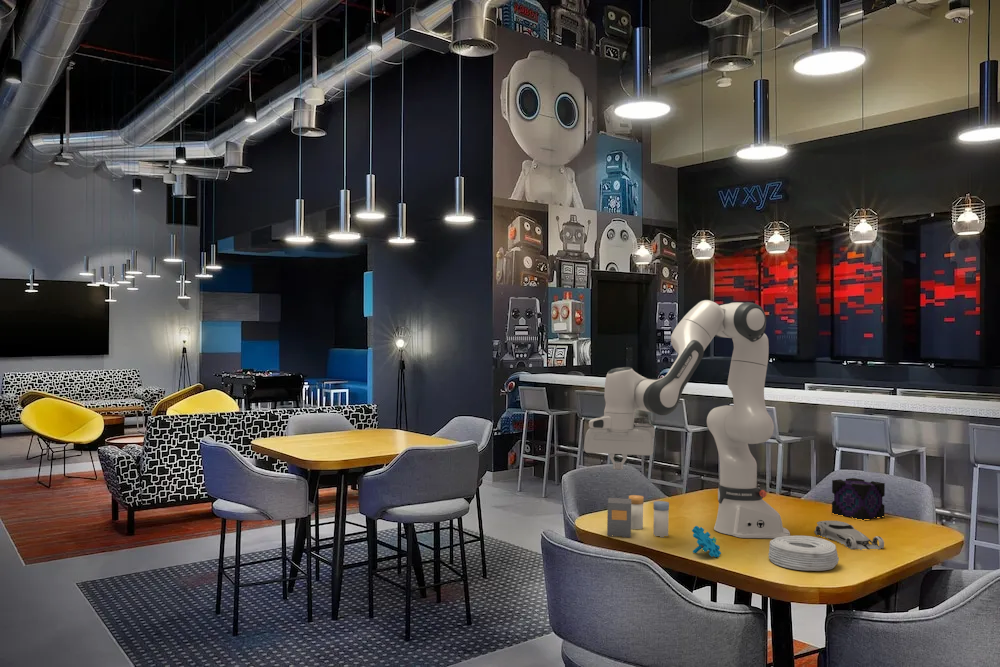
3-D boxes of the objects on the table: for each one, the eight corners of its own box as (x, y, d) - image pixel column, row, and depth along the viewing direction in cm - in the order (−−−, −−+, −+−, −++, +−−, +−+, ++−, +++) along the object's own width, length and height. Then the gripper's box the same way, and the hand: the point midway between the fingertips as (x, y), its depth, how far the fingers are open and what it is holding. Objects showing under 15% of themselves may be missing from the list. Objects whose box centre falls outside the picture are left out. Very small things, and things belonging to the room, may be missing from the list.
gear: (712, 555, 207) (690, 524, 212) (696, 568, 209) (674, 537, 215) (729, 553, 215) (707, 523, 221) (714, 566, 217) (693, 536, 223)
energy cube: (853, 511, 279) (853, 477, 280) (884, 517, 269) (884, 483, 269) (831, 514, 273) (832, 480, 274) (863, 521, 263) (863, 485, 263)
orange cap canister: (642, 527, 247) (643, 495, 247) (643, 530, 242) (643, 498, 242) (628, 526, 247) (628, 494, 248) (628, 529, 243) (628, 497, 243)
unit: (630, 531, 240) (631, 498, 241) (630, 537, 232) (631, 504, 232) (608, 529, 242) (608, 497, 242) (607, 536, 233) (607, 502, 233)
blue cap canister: (668, 534, 238) (668, 501, 238) (668, 537, 233) (669, 504, 233) (652, 533, 238) (653, 500, 238) (653, 536, 234) (653, 503, 234)
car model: (852, 551, 222) (852, 534, 223) (806, 532, 246) (806, 516, 247) (887, 551, 224) (887, 533, 224) (838, 531, 248) (838, 515, 248)
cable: (829, 558, 214) (829, 536, 215) (846, 576, 197) (847, 552, 197) (763, 554, 217) (763, 532, 217) (774, 571, 200) (775, 547, 200)
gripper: (654, 422, 230) (653, 469, 230) (585, 420, 234) (584, 466, 233) (655, 424, 224) (654, 472, 224) (584, 421, 227) (583, 469, 227)
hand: (618, 469), depth 228 cm, fingers closed
